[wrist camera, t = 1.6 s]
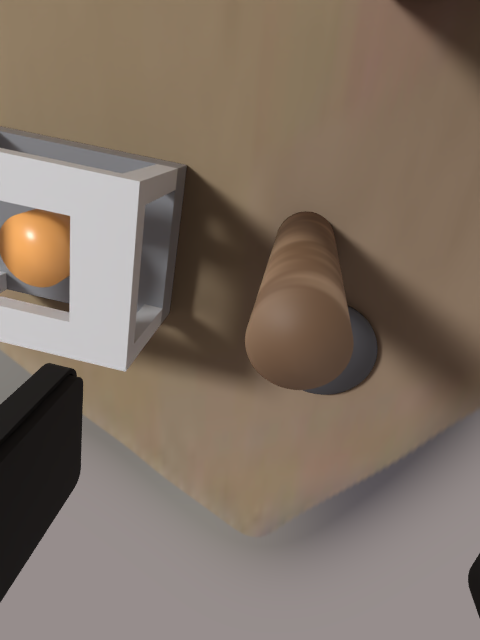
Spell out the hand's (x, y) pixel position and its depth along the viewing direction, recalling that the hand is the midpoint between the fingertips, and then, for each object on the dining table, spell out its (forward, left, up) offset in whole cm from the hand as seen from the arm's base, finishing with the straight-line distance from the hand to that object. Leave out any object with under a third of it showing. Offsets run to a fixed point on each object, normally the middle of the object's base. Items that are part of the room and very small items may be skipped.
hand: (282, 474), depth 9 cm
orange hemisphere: (+14, +2, -15) cm, 21 cm away
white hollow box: (+14, +2, -20) cm, 24 cm away
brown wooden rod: (0, 0, -20) cm, 20 cm away
